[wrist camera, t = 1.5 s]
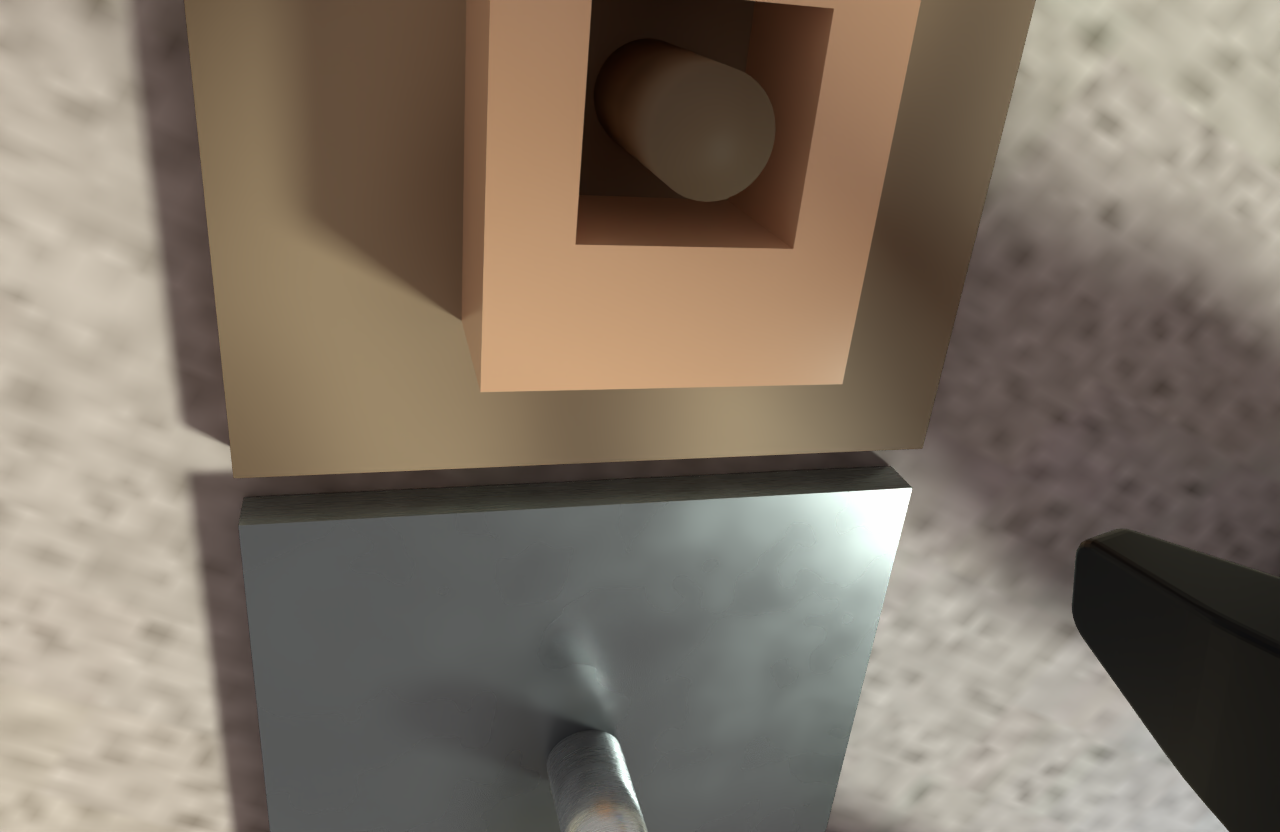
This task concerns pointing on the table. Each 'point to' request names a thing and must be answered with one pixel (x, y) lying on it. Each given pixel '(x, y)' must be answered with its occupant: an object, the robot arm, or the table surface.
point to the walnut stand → (610, 166)
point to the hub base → (566, 650)
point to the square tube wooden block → (673, 211)
